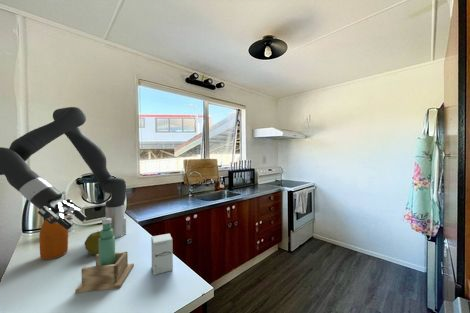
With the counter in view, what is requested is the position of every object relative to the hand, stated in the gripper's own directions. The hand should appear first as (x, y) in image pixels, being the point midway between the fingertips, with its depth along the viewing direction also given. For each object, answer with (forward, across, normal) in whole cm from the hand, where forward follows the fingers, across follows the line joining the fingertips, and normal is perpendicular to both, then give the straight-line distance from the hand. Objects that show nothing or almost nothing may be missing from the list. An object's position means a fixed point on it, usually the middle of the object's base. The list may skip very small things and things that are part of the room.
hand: (78, 223), depth 73 cm
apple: (+13, +22, +18) cm, 31 cm away
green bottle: (+21, 0, +8) cm, 22 cm away
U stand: (+22, 0, +8) cm, 23 cm away
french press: (-11, +54, +42) cm, 69 cm away
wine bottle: (-1, +24, +31) cm, 39 cm away
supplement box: (+36, +3, -5) cm, 36 cm away
